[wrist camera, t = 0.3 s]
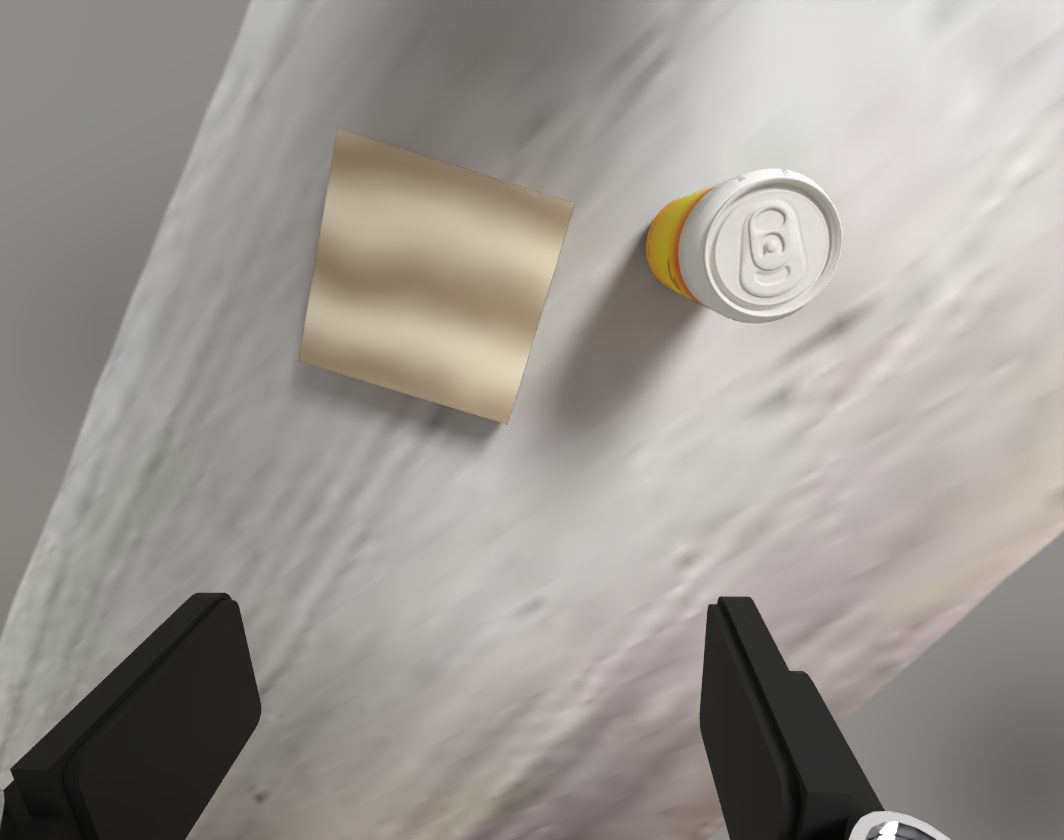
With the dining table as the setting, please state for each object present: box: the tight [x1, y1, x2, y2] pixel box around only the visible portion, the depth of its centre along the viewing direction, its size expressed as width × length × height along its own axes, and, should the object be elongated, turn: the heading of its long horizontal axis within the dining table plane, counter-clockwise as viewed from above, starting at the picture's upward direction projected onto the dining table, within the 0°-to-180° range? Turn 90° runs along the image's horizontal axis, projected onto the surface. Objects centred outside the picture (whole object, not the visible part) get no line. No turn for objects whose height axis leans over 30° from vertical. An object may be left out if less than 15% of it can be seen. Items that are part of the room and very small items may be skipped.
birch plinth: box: [298, 128, 574, 425], centre depth 36 cm, size 14×14×4 cm
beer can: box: [646, 169, 843, 323], centre depth 29 cm, size 6×6×15 cm
